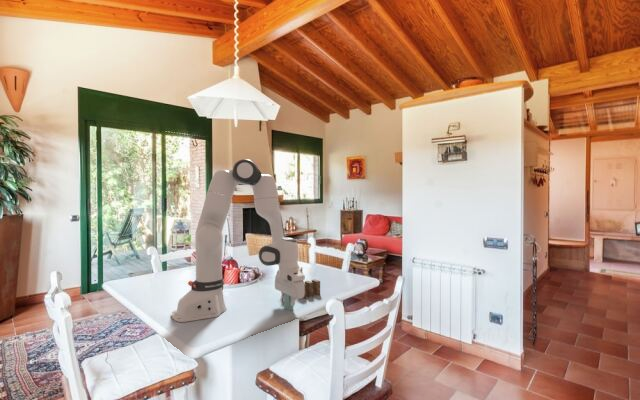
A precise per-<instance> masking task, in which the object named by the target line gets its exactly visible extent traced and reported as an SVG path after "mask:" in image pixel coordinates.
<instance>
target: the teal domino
mask: <svg viewBox="0 0 640 400" xmlns="http://www.w3.org/2000/svg"><path fill="white" fill-rule="evenodd" d="M290 301H291V296H289V295H287V294H285V293H284V302H283V304H284V305H283V308H284V309H286V310H288V311H292V310H294V306H291V305H290Z"/></svg>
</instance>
